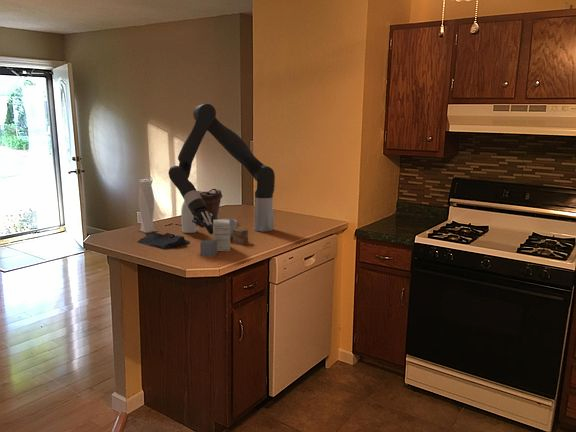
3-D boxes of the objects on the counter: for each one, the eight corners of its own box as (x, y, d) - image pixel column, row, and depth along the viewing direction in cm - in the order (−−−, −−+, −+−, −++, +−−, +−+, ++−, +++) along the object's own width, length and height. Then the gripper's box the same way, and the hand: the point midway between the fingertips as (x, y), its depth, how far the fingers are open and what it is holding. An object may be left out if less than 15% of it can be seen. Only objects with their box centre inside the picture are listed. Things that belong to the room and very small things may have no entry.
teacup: (240, 235, 247) (240, 219, 245) (231, 240, 237) (230, 223, 235) (215, 232, 251) (215, 217, 250) (204, 237, 241) (204, 221, 239)
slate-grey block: (207, 252, 216) (207, 239, 214) (217, 254, 214) (216, 240, 212) (200, 255, 211) (200, 241, 210) (210, 257, 209) (210, 243, 208)
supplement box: (213, 246, 225) (213, 219, 222) (230, 246, 226) (229, 219, 223) (213, 251, 218) (212, 223, 215) (230, 251, 218) (230, 222, 216)
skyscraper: (159, 231, 251) (158, 176, 245) (145, 234, 245) (143, 177, 239) (150, 228, 256) (148, 174, 251) (136, 231, 250) (134, 175, 245)
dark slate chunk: (160, 237, 242) (160, 227, 241) (192, 244, 230) (192, 234, 229) (134, 243, 230) (134, 233, 229) (167, 251, 218) (166, 241, 217)
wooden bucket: (229, 218, 283) (229, 187, 279) (206, 225, 266) (205, 192, 263) (206, 215, 292) (205, 185, 289) (181, 221, 276) (180, 189, 272)
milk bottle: (193, 233, 247) (193, 194, 243) (179, 232, 249) (178, 193, 245) (199, 230, 255) (198, 191, 251) (185, 229, 256) (184, 190, 252)
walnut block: (240, 240, 237) (240, 228, 236) (248, 242, 234) (248, 229, 233) (232, 242, 233) (232, 229, 232) (240, 244, 230) (240, 231, 229)
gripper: (187, 199, 222) (205, 230, 216) (209, 196, 232) (227, 226, 226) (179, 209, 226) (197, 240, 221) (202, 205, 236) (219, 235, 231)
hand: (212, 233), depth 224 cm, fingers closed
